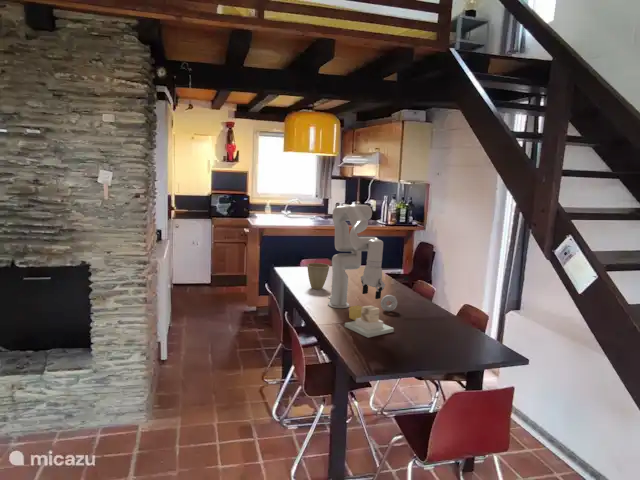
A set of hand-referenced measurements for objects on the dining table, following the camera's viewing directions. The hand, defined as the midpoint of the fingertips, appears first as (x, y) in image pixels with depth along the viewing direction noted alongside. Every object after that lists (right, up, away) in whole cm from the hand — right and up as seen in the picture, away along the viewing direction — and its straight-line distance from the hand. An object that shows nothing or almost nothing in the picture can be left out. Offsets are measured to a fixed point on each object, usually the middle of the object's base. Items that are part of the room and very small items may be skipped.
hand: (371, 296), depth 249 cm
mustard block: (-6, -15, +19) cm, 25 cm away
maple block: (-1, -13, +2) cm, 13 cm away
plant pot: (-28, -4, +78) cm, 83 cm away
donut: (+14, -13, +36) cm, 41 cm away
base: (-1, -18, +3) cm, 18 cm away
